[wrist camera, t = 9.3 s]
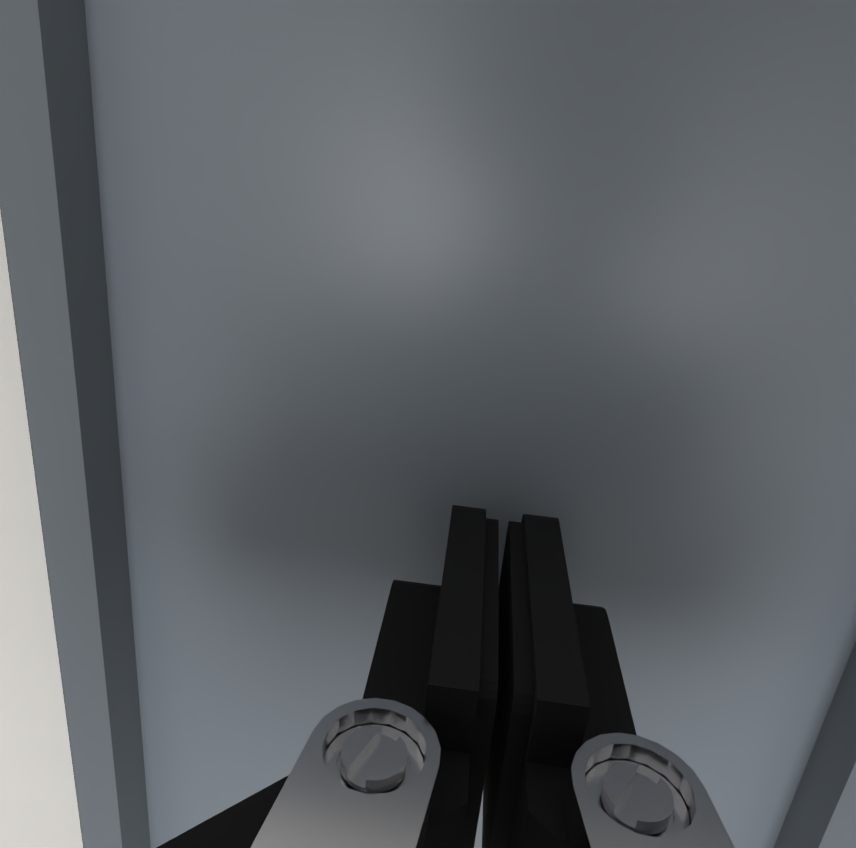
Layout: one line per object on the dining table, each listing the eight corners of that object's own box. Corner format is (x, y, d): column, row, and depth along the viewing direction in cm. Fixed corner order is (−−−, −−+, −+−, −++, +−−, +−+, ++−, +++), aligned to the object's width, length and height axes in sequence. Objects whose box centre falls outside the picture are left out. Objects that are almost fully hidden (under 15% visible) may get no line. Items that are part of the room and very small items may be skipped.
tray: (117, -77, 11) (-51, -185, 7) (1039, 1, 10) (1308, -82, 7) (180, 970, 20) (119, 1127, 17) (656, 1051, 19) (689, 1231, 16)
